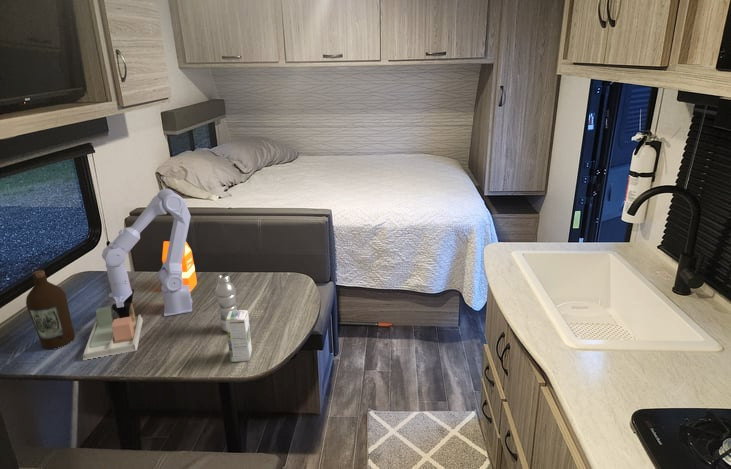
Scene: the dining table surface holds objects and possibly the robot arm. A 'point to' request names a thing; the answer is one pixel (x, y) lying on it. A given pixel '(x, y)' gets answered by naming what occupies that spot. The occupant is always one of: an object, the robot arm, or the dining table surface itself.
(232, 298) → the plastic bottle
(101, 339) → the strip
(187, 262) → the orange juice
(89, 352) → the lane board
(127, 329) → the block
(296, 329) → the dining table surface
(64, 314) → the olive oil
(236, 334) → the syrup box
